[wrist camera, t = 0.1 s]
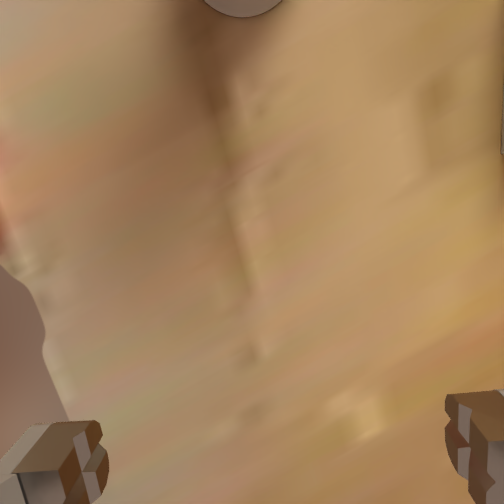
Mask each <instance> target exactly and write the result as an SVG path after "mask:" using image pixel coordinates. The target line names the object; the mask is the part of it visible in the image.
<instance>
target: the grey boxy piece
mask: <svg viewBox="0 0 504 504" xmlns="http://www.w3.org/2000/svg"><path fill="white" fill-rule="evenodd" d="M501 154H504V87H503V114H502V140H501Z"/></svg>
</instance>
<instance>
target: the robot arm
mask: <svg viewBox="0 0 504 504" xmlns="http://www.w3.org/2000/svg"><path fill="white" fill-rule="evenodd" d="M204 1H205V2H206V3H207V4H209V5H210V6H211V7H212V8H214V9H215V10H217V11H219V12H221V13H223V14H226V15H229V16H234V17H251V16H255V15H259V14H262V13H264V12H266V11H268V10H270V9H271V8H273V7H274V6H275V5H277V4H278V3H279V2H280V1H281V0H204ZM445 411H446V413H447V414H448V416H449V417H450V419H451V420H450V421H449V423H448V424H447V425H446V427H445V442H446V447H447V451H448V455H449V457H450V460H451V462H452V464H453V466H454V468H455V470H456V471H457V473H458V474H459V475H461V476H462V477H464V478H465V479H467V480H468V492H469V493H470V495H471V497H472V498H473V500H474V502H475V503H476V504H504V389H496V390H493V391H481V392H469V393H457V394H447V396H446V399H445ZM102 436H103V434H102V430H101V427H100V423H98V422H97V421H95V420H89V421H69V422H56V423H53V422H52V423H38V424H34V425H32V426H30V427H29V428H28V429H27V430H26V432H25V433H24V434H23V435H22V436H21V437H20V438H19V439H18V441H17V442H16V443H15V444H14V445H13V446H12V448H10V450H9V451H8V452H7V453H6V454H5V455H4V456H3V458H2V459H1V460H0V504H92V503H93V502H94V501H95V500H96V499H98V498H99V497H100V496H101V495H102V493H103V490H104V488H105V486H106V483H107V479H108V474H109V459H108V454H107V451H106V450H105V449H104V448H103V447H102V446H101V445H100V444H99V442H100V440H101V438H102Z"/></svg>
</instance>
